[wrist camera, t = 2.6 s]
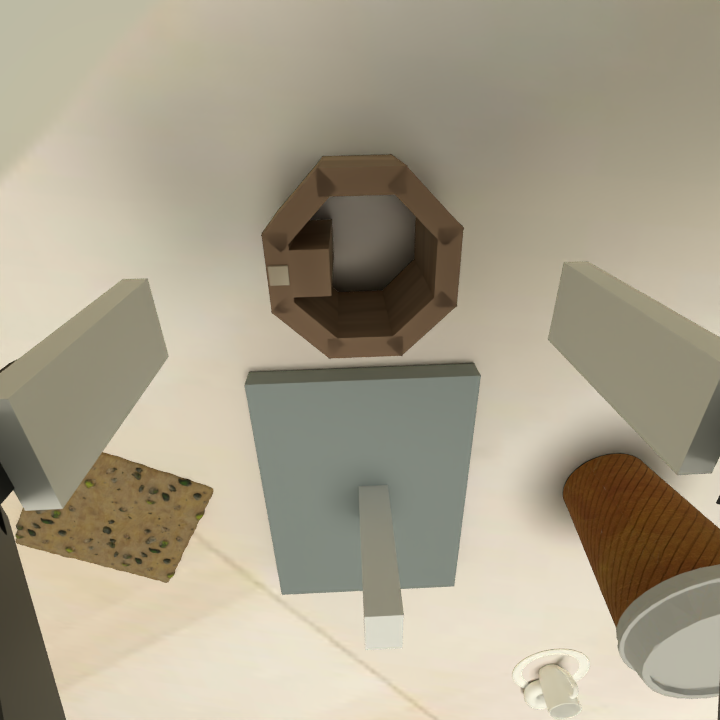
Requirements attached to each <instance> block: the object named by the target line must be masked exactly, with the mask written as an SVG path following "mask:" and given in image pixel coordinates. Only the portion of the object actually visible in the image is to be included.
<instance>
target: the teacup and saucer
mask: <svg viewBox="0 0 720 720" xmlns="http://www.w3.org/2000/svg"><path fill="white" fill-rule="evenodd" d="M554 654H562V655H568V656H571V657H574V658H575V659H576V660H577V661H578V663H579V668H578V670H577V672H576V673H575V674H574V675H573V676H571V675H570V674H569V673H568V672H567V671H566V670H565V669H563V668H561V667H559V666H558V665H556V664H550V665H546V666H543V667H542V668H541V669H540V670H539V679H540V680H535V681H533V682H531V683H529V682H527V681H525V680H524V679H523V677H522V670H523V668H524V667H525V666H526V665H527V664H528V663H530V662H531V661H533V660H535V659H537V658H540V657H543V656H547V655H554ZM589 666H590V663H589V660H588V658H587V657H586V656H585V655H584V654H582V653H580V652H578V651H575V650H570V649H552V650H546V651H542V652H539V653H536V654H533V655H531V656H529V657H527V658H525V659H524V660H522V661H521V662H520V663H518V664H517V666H516V667H515V668H514V670H513V673H512V678H513V680H514V682H515V683H516V684H517V685H518V686H520V687H522V688H524V689H525V691H524V700H525V702H526V704H527V705H528V706H529V707H531V708H533V709H537V710H543V709H548V712H549V715H550V716H551V717H552V718H555V719H566V718H571V717H573V716H575V715H577V714H579V713H580V712H581V709H582V708H581V705H580V703H579V701H578V698H577V696H578V686H577V684H576V681H578V680H580V679H581V678H582V677H583V676H584V675H585V674H586V673H587V671H588V669H589ZM571 684H572V686H573V688H572V686H571ZM540 694H542V695H540Z"/></svg>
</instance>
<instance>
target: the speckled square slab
mask: <svg viewBox="0 0 720 720" xmlns="http://www.w3.org/2000/svg"><path fill="white" fill-rule="evenodd" d="M212 494H213V489H212V488H211V487H208V486H206V485H203V484H199V483H196V482H193V481H191V480H188V479H184V478H181V477H178V476H175V475H173V474H170V473H167V472H162V471H158V470H156V469H153V468H150V467H147V466H145V465H142V464H139V463H135V462H131V461H129V460H126V459H123V458H121V457H118V456H114V455H110V454H107V453H103V452H102V453H101V454H100V456H99V457H98V459H97V460H96V462H95V463H94V465H93V466H92V467H91V469H90V470H89V472H88V473H87V475H86V476H85V478H84V479H83V480H82V482H81V483H80V485H79V486H78V488H77V489H76V490H75V492H74V493H73V495H72V496H71V498H70V499H69V501H68V502H67V503H66V505H65V506H64V508H63V509H49V510H31V511H25V510H24V508H23V510H22V512H21V515H20V518H19V521H18V523H17V525H16V528H17V529H18V531H17V533H16V537H17V538H16V543H17V544H20V545H25V546H27V547H30V548H34V549H38V550H43V551H47V552H50V553H52V554H59V555H61V556H63V557H68V558H75V559H78V560H82V561H86V562H90V563H94V564H98V565H101V566H104V567H110V568H114V569H116V570H119V571H126V572H129V573H132V574H137V575H139V576H144V577H147V578H151V579H154V580H160V581H162V582H165V583H167V582H169V580H170V578H171V577H173V575H174V574H175V569H176V567H177V566H178V563H179V562H180V560H181V557H182V554H183V552H184V550H185V548H186V547H187V545H188V542H189V540H190V538H191V536H192V535H193V533H194V530H195V529H196V527H197V524H198V522H199V520H200V519H201V518H202V516H203V515H204V510H205V507H206V506H207V504H208V502H209V499H210V498H211V497H212Z"/></svg>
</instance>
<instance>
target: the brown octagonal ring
mask: <svg viewBox="0 0 720 720" xmlns="http://www.w3.org/2000/svg"><path fill="white" fill-rule="evenodd" d="M363 195H396V196H397V197H398V198H399V199H400V200H401V201H402V203H403V204H404V205H405V206H406V207H407V208H408V209H409V210H410V211H411V212H412V213H413V214H414V215H415V216H416V221H415V249H414V260H413V261H412V262H411V263H409V264H408V265H407V266H406V267H405V268H404V269H403V270H402V271H401V272H400V273H399V274H398V275H397V276H396V277H395V278H394V279H393V280H392V281H391V282H390V283H389V284H388V285H387V286H386V287H385V288H384V289H383V290H382V291H354V292H338V291H337V290H336V289H334V288H333V287H332V278H333V262H334V252H333V233H332V219H328V220H310V219H311V218H312V216H313V215H314V214H315V213H316V212H317V211H318V209H319V208H320V207H321V206H322V205H323V204H324V203H325V201H326V200H327V199H328V198H329V197H331V196H363ZM463 230H464V227H463V226H462V225H461V224H460V223H459V222H457V220H456V219H455V218H454V217H453V216H452V215H451V214H450V213H449V212H448V211H447V210H446V208H445V207H444V206H443V205H442V204H441V203H440V202H439V201H438V200H437V199H436V198H435V196H434V195H433V194H432V193H431V192H430V191H429V190H428V189H427V188H426V187H425V185H424V184H423V183H422V182H421V181H420V180H419V179H418V178H417V177H416V176H415V175H414V173H413V172H412V171H411V170H410V169H409V168H408V167H407V165H406V164H404V163H403V162H402V161H400V160H399V159H397V158H396V157H395V156H393V155H392V154H388V155H354V156H322V158H321V160H320V161H319V162H318V163H317V164H316V166H315V167H314V168H313V169H312V170H311V172H310V173H309V174H308V175H307V176H306V178H305V179H304V180H303V181H302V182H301V184H300V185H299V186H298V187H297V189H296V190H295V191H294V192H293V193H292V195H291V196H290V197H289V198H288V199H287V201H286V202H285V203H284V204H283V205H282V207H280V208H279V210H278V211H277V212H276V214H275V215H274V217H273V218H272V220H271V221H270V222H269V224H268V225H267V227H266V228H265V229H264V231H263V232H262V235H261V236H262V241H263V249H264V256H265V264H266V272H267V279H268V287H269V295H270V302H271V310H272V311H271V312H272V314H274V315H275V316H277V317H278V318H279V319H280V320H282V321H283V322H284V323H285V324H287V325H288V326H289V327H291V328H292V329H293V330H294V331H296V332H297V333H298V334H299V335H301V336H302V337H303V338H304V339H306V340H307V341H308V342H309V343H311V344H312V345H313V346H314V347H316V348H317V349H318V350H320V351H321V352H322V353H323V354H325V355H326V356H327V357H328V358H330V359H331V358H352V357H378V356H403V354H404V353H405V352H406V351H407V350H408V349H410V348H411V347H412V346H413V345H414V344H415V343H416V342H417V341H418V340H420V339H421V338H422V337H423V336H424V335H425V334H426V333H427V332H428V331H430V330H431V329H432V328H433V327H434V326H435V325H436V324H437V323H438V322H439V321H441V320H442V319H443V318H444V317H445V316H446V315H447V314H448V313H449V312H451V311H452V310H453V309H454V308H455V307H457V296H458V285H459V274H460V262H461V251H462V239H463Z"/></svg>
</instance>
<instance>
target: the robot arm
mask: <svg viewBox="0 0 720 720" xmlns="http://www.w3.org/2000/svg"><path fill="white" fill-rule="evenodd" d="M548 340H549V341H550V342H551V343H552V344H553V345H554V347H555V348H556V349H557V350H558V351H559V352H560V353H561V354H562V355H563V356H564V357H565V358H566V359H567V360H568V361H569V362H570V363H571V364H572V365H573V366H574V367H575V368H576V370H577V371H578V372H579V373H580V374H581V375H582V376H583V377H584V378H585V379H586V380H587V381H588V382H589V383H590V384H591V385H592V386H593V387H594V388H595V389H596V390H597V392H598V393H599V394H600V395H601V396H602V397H603V398H604V399H605V400H606V401H607V402H608V403H609V404H610V405H611V406H612V407H613V408H614V409H615V410H616V411H617V412H618V414H619V415H620V416H621V417H622V418H623V419H624V420H625V421H626V422H627V423H628V424H629V425H630V426H631V427H632V428H633V429H634V430H635V431H636V432H637V433H638V434H639V435H640V437H641V438H642V439H643V440H644V441H645V442H646V443H647V444H648V445H649V446H650V447H651V448H652V449H653V450H654V451H655V452H656V453H657V454H658V455H659V456H660V457H661V459H662V460H663V461H664V462H665V463H666V464H667V465H668V466H669V467H670V468H671V469H672V470H673V471H674V472H675V473H676V474H677V475H688V474H706V473H712V471H713V469H714V467H715V465H716V463H717V461H718V459H719V457H720V337H718V336H717V335H715V334H713V333H711V332H710V331H708V330H706V329H704V328H703V327H701V326H699V325H697V324H696V323H694V322H692V321H690V320H689V319H687V318H685V317H683V316H682V315H680V314H678V313H676V312H675V311H673V310H671V309H670V308H668V307H666V306H664V305H663V304H661V303H659V302H657V301H656V300H654V299H652V298H650V297H649V296H647V295H645V294H643V293H642V292H640V291H638V290H636V289H635V288H633V287H631V286H629V285H628V284H626V283H624V282H622V281H621V280H619V279H617V278H615V277H614V276H612V275H610V274H608V273H607V272H605V271H603V270H601V269H600V268H598V267H596V266H594V265H593V264H591V263H589V262H564V264H563V269H562V274H561V279H560V284H559V289H558V293H557V298H556V303H555V308H554V313H553V318H552V322H551V327H550V332H549V337H548ZM168 357H169V356H168V352H167V349H166V345H165V341H164V338H163V334H162V330H161V327H160V323H159V319H158V315H157V312H156V308H155V304H154V301H153V297H152V293H151V289H150V286H149V282H148V278H147V279H122V280H121V281H120V282H118V283H117V284H116V285H115V286H113V287H112V288H111V289H109V290H108V291H107V292H105V293H104V294H103V295H101V296H100V297H99V298H98V299H96V300H95V301H94V302H92V303H91V304H90V305H88V306H87V307H86V308H84V309H83V310H82V311H81V312H79V313H78V314H77V315H75V316H74V317H73V318H71V319H70V320H69V321H67V322H66V323H65V324H64V325H62V326H61V327H60V328H58V329H57V330H56V331H54V332H53V333H52V334H50V335H49V336H48V337H47V338H45V339H44V340H43V341H41V342H40V343H39V344H37V345H36V346H35V347H33V348H32V349H31V350H30V351H28V352H27V353H26V354H24V355H23V356H22V357H20V358H19V359H17V360H15V361H13V362H11V363H9V364H8V365H6V366H5V367H4V368H3V369H1V370H0V720H66V718H65V714H64V711H63V707H62V704H61V700H60V697H59V693H58V690H57V686H56V683H55V679H54V676H53V672H52V669H51V665H50V662H49V658H48V655H47V651H46V648H45V644H44V641H43V638H42V634H41V631H40V627H39V624H38V620H37V617H36V613H35V610H34V606H33V603H32V599H31V596H30V592H29V589H28V585H27V582H26V578H25V575H24V571H23V568H22V564H21V561H20V557H19V554H18V550H17V547H16V543H15V540H14V536H13V533H12V529H11V526H10V522H9V519H8V516H7V515H6V513H5V511H4V510H3V508H2V506H1V503H2V502H3V501H4V500H5V499H6V498H7V496H8V495H9V494H10V493H11V492H12V491H13V490H14V492H15V494H16V495H17V497H18V499H19V501H20V502H21V504H22V506H23V508H24V510H25V511H31V510H49V509H63V508H64V506H65V505H66V503H67V502H68V501H69V499H70V498H71V496H72V495H73V493H74V492H75V490H76V489H77V488H78V486H79V485H80V483H81V482H82V480H83V479H84V478H85V476H86V475H87V473H88V472H89V470H90V469H91V467H92V466H93V465H94V463H95V462H96V460H97V459H98V457H99V456H100V454H101V453H102V452H103V450H104V449H105V447H106V446H107V444H108V443H109V442H110V440H111V439H112V437H113V436H114V434H115V433H116V431H117V430H118V429H119V427H120V426H121V424H122V423H123V421H124V420H125V418H126V417H127V416H128V414H129V413H130V411H131V410H132V408H133V407H134V406H135V404H136V403H137V401H138V400H139V398H140V397H141V395H142V394H143V393H144V391H145V390H146V388H147V387H148V385H149V384H150V382H151V381H152V380H153V378H154V377H155V375H156V374H157V372H158V371H159V370H160V368H161V367H162V365H163V364H164V362H165V361H166V359H167V358H168ZM716 503H717V504H720V496H719V498H718V500H717V502H716ZM718 720H720V683H719V704H718Z"/></svg>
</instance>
